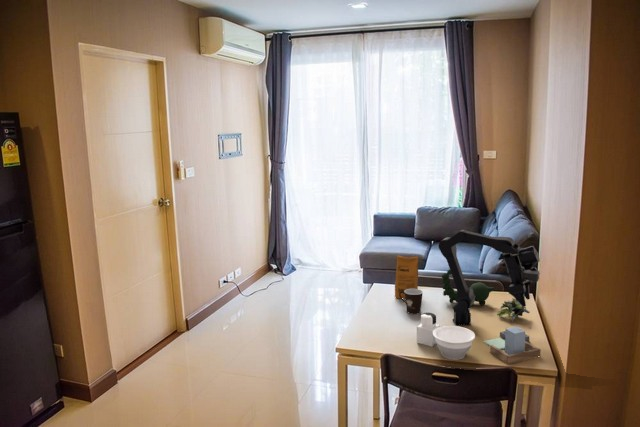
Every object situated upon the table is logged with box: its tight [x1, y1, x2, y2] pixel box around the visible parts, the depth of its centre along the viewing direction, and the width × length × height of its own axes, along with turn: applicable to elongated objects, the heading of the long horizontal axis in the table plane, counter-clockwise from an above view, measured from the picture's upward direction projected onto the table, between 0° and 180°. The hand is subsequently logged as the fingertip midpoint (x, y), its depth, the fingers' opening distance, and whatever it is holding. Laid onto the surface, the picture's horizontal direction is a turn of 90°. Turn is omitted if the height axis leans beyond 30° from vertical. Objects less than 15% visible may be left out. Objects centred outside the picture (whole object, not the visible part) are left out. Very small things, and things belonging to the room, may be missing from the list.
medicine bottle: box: [416, 312, 441, 348], centre depth 202 cm, size 7×7×12 cm
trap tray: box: [499, 331, 530, 342], centre depth 203 cm, size 8×8×2 cm
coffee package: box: [394, 255, 419, 300], centre depth 255 cm, size 10×12×22 cm
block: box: [504, 326, 526, 355], centre depth 189 cm, size 5×5×10 cm
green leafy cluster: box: [496, 297, 530, 322], centre depth 223 cm, size 11×11×12 cm
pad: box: [483, 337, 505, 350], centre depth 199 cm, size 8×8×1 cm
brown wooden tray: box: [489, 341, 542, 365], centre depth 189 cm, size 10×15×3 cm
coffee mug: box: [399, 288, 424, 315], centre depth 237 cm, size 12×9×10 cm
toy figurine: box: [441, 268, 497, 306], centre depth 242 cm, size 9×19×25 cm
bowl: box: [433, 325, 476, 361], centre depth 191 cm, size 16×16×8 cm
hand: (526, 302), depth 205 cm, fingers open, 9 cm apart
